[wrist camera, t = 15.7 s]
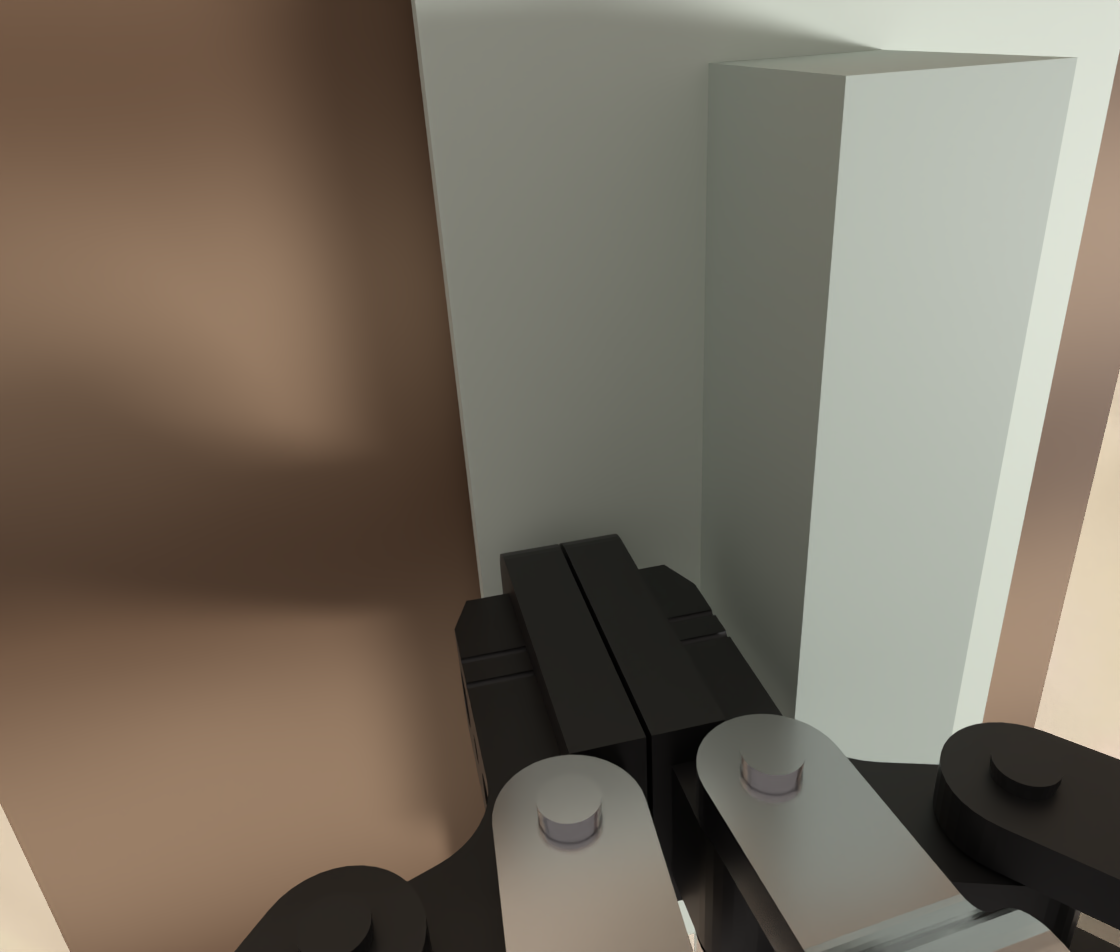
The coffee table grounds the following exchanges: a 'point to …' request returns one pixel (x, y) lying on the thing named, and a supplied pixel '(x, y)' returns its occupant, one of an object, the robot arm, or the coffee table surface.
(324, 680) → the brown square open box
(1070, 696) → the coffee table surface
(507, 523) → the slide cover
